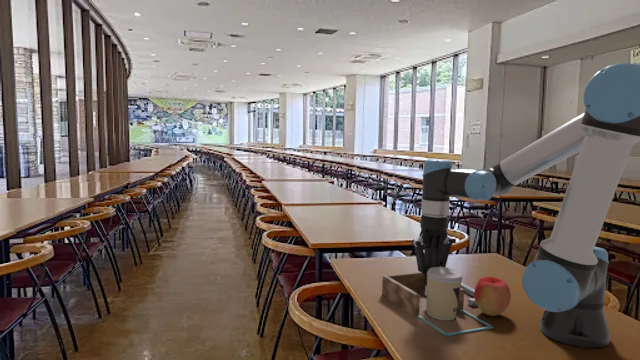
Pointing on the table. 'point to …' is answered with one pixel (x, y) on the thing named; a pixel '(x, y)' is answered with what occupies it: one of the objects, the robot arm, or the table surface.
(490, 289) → the apple
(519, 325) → the table surface
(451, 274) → the coffee cup
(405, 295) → the cubby
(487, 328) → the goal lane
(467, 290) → the crook tool
